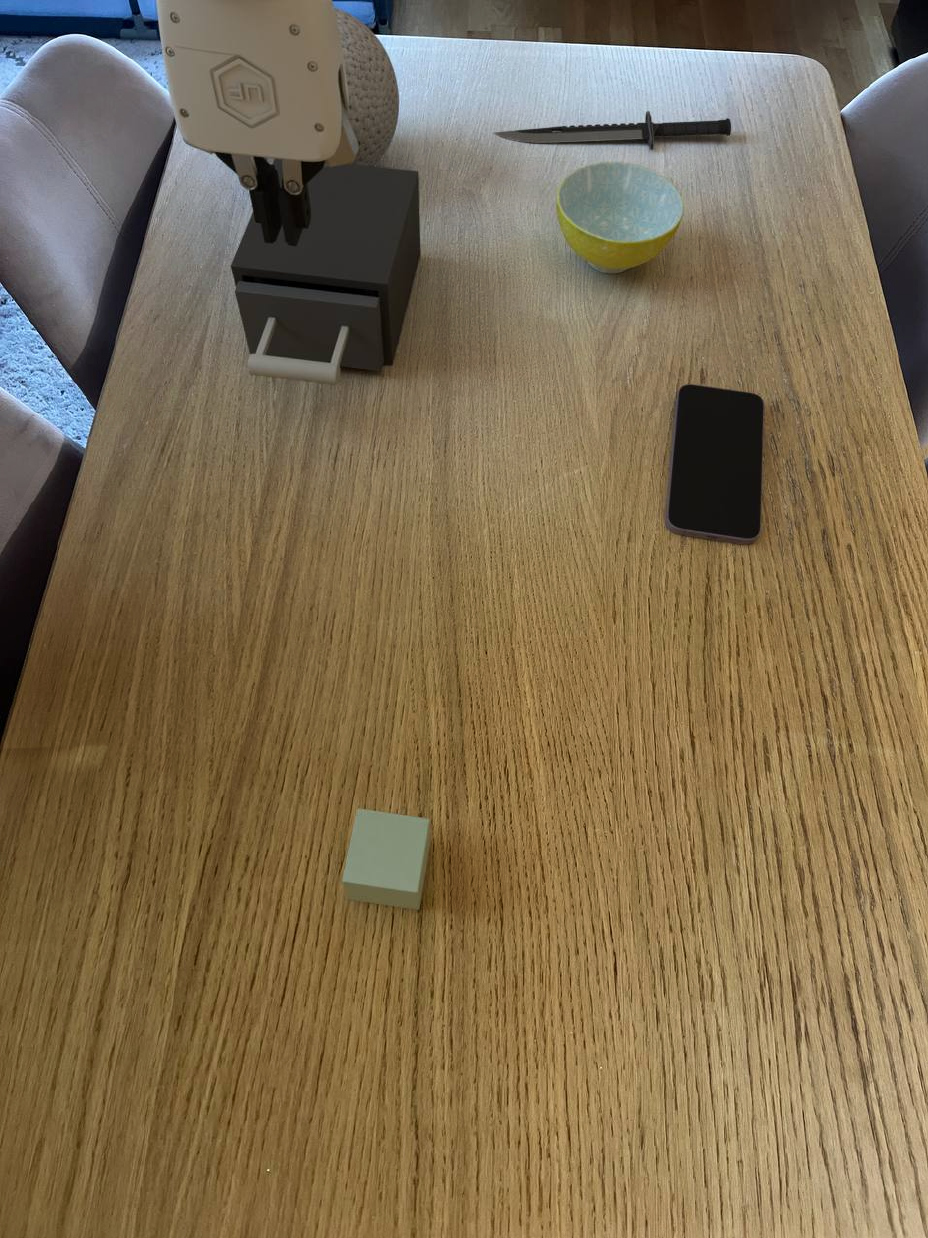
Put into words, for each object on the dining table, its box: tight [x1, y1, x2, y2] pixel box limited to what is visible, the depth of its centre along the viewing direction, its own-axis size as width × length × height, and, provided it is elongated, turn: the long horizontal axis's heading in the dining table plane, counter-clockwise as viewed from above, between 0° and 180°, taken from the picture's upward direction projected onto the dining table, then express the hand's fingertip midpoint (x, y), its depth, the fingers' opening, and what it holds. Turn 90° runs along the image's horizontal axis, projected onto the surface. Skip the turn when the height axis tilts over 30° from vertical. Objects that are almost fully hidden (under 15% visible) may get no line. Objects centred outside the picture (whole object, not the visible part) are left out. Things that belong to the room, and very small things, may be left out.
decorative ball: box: [267, 6, 400, 167], centre depth 85 cm, size 15×15×15 cm
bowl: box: [556, 161, 685, 275], centre depth 84 cm, size 11×12×6 cm
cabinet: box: [230, 159, 422, 367], centre depth 79 cm, size 15×13×9 cm
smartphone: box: [664, 383, 765, 546], centre depth 73 cm, size 7×1×15 cm
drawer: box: [234, 277, 384, 386], centre depth 76 cm, size 19×11×7 cm, turn 172°
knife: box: [493, 110, 732, 151], centre depth 95 cm, size 25×2×5 cm
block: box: [341, 807, 432, 911], centre depth 55 cm, size 4×4×4 cm
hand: (285, 231), depth 64 cm, fingers closed
